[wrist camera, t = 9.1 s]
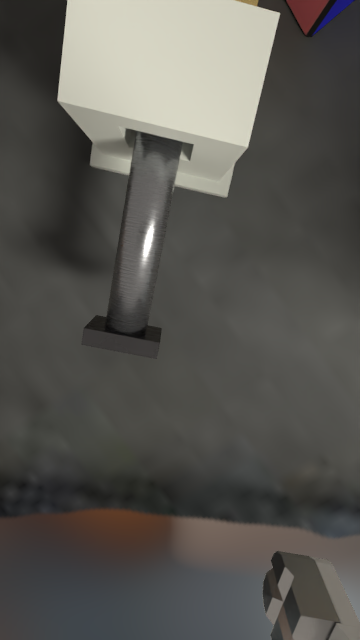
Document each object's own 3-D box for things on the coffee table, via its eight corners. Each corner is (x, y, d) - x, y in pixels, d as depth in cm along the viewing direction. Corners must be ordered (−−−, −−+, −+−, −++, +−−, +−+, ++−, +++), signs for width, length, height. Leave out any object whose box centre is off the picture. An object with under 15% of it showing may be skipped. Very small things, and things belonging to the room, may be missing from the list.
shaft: (135, 52, 21) (128, 15, 17) (214, 73, 21) (222, 40, 17) (94, 329, 25) (81, 344, 22) (158, 342, 26) (156, 358, 22)
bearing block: (114, 3, 25) (63, -199, 13) (261, 43, 26) (333, -114, 14) (92, 167, 28) (35, 117, 16) (225, 197, 29) (260, 171, 17)
